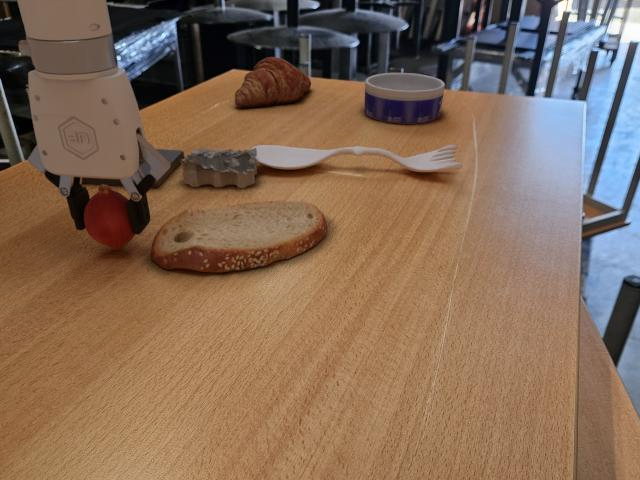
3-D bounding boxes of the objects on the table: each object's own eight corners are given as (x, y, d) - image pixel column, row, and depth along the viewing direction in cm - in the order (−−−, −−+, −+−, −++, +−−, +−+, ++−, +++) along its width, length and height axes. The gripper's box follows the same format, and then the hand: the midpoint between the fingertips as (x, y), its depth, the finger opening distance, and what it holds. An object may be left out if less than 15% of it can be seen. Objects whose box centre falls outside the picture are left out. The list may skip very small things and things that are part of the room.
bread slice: (335, 220, 74) (336, 193, 72) (288, 292, 60) (288, 260, 58) (208, 202, 78) (205, 176, 76) (137, 265, 64) (130, 235, 62)
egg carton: (179, 187, 82) (175, 159, 80) (192, 168, 88) (188, 142, 86) (253, 189, 81) (251, 161, 79) (261, 170, 88) (259, 143, 85)
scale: (61, 182, 83) (56, 162, 81) (99, 154, 93) (95, 135, 91) (156, 188, 81) (153, 168, 80) (184, 159, 91) (182, 140, 89)
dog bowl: (374, 99, 121) (376, 69, 118) (446, 107, 118) (450, 75, 114) (354, 119, 110) (356, 86, 106) (434, 128, 106) (438, 94, 102)
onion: (91, 241, 68) (74, 177, 64) (140, 234, 70) (128, 171, 65) (93, 264, 64) (75, 197, 59) (146, 256, 66) (133, 190, 61)
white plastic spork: (460, 185, 84) (464, 162, 82) (245, 175, 86) (244, 153, 84) (454, 163, 91) (457, 141, 89) (256, 155, 93) (254, 133, 91)
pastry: (310, 110, 114) (310, 67, 110) (233, 109, 114) (230, 66, 109) (311, 89, 128) (311, 50, 123) (242, 88, 128) (239, 49, 123)
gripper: (-34, 60, 52) (24, 237, 63) (147, 68, 51) (175, 248, 61) (12, 44, 58) (58, 208, 69) (175, 51, 57) (196, 218, 67)
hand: (113, 225), depth 65 cm, fingers closed on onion, 5 cm apart
